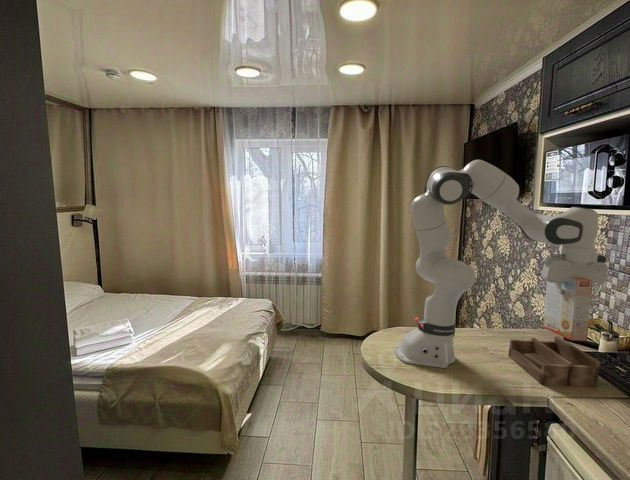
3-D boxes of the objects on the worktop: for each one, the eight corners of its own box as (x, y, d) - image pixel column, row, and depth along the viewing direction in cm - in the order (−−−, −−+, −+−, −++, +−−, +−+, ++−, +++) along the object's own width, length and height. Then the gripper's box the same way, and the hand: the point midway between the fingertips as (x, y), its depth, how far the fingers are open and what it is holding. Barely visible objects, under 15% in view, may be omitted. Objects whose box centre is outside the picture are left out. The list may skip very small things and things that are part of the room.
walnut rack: (541, 388, 113) (545, 359, 112) (507, 359, 133) (510, 334, 131) (595, 390, 113) (600, 361, 112) (554, 361, 133) (557, 336, 131)
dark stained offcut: (540, 369, 119) (541, 364, 118) (522, 358, 126) (523, 353, 126) (551, 369, 120) (552, 363, 119) (533, 358, 127) (533, 353, 127)
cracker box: (588, 341, 115) (594, 279, 113) (570, 341, 114) (576, 279, 113) (558, 328, 128) (562, 272, 127) (542, 327, 128) (546, 272, 127)
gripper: (552, 255, 114) (546, 295, 116) (614, 258, 114) (607, 298, 116) (540, 252, 120) (535, 290, 122) (598, 254, 120) (592, 293, 122)
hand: (570, 294), depth 119 cm, fingers closed on cracker box, 6 cm apart
